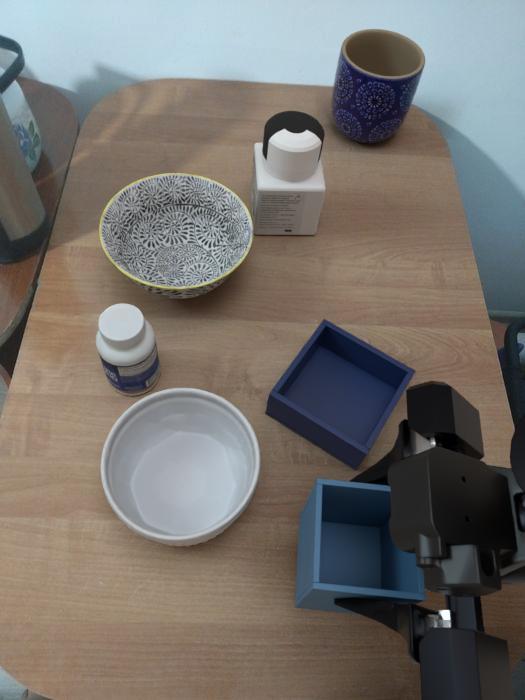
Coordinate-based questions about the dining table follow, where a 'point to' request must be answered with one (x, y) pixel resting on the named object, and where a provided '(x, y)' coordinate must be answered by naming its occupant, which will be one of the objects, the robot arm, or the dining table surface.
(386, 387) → the navy bin
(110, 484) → the ramekin
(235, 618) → the dining table surface
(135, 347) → the pill bottle
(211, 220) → the bowl
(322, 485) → the blue bin
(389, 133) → the planter
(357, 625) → the dining table surface
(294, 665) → the dining table surface
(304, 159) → the container
